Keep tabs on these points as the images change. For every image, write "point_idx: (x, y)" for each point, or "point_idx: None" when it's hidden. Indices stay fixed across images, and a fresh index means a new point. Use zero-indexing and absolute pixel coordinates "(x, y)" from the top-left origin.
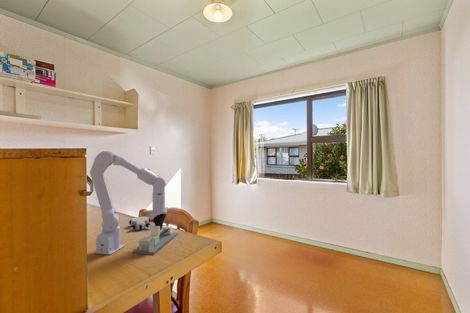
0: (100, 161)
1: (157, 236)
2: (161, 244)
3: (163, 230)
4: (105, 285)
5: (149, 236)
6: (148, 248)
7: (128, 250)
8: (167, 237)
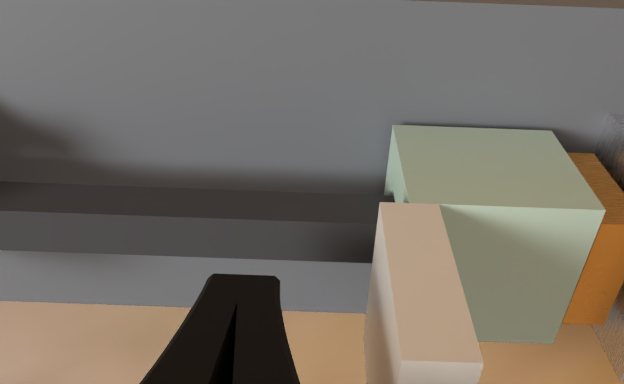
0: None
1: (493, 201)
2: (478, 44)
3: (21, 250)
4: None
5: (501, 326)
6: None
7: (571, 366)
8: (121, 83)
